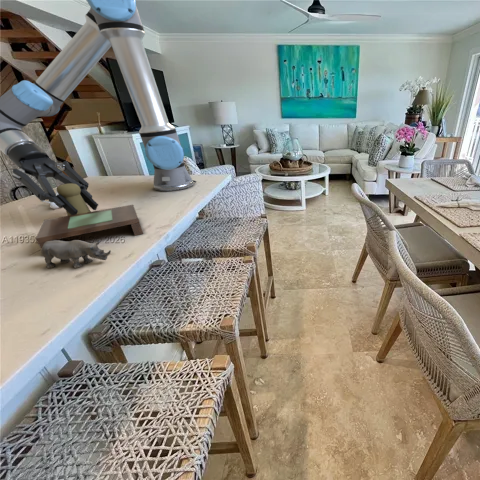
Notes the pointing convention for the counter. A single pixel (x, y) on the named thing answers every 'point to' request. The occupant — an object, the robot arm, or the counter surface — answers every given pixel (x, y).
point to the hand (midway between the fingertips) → (85, 210)
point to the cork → (73, 197)
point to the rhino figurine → (72, 252)
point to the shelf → (88, 223)
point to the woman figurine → (52, 203)
